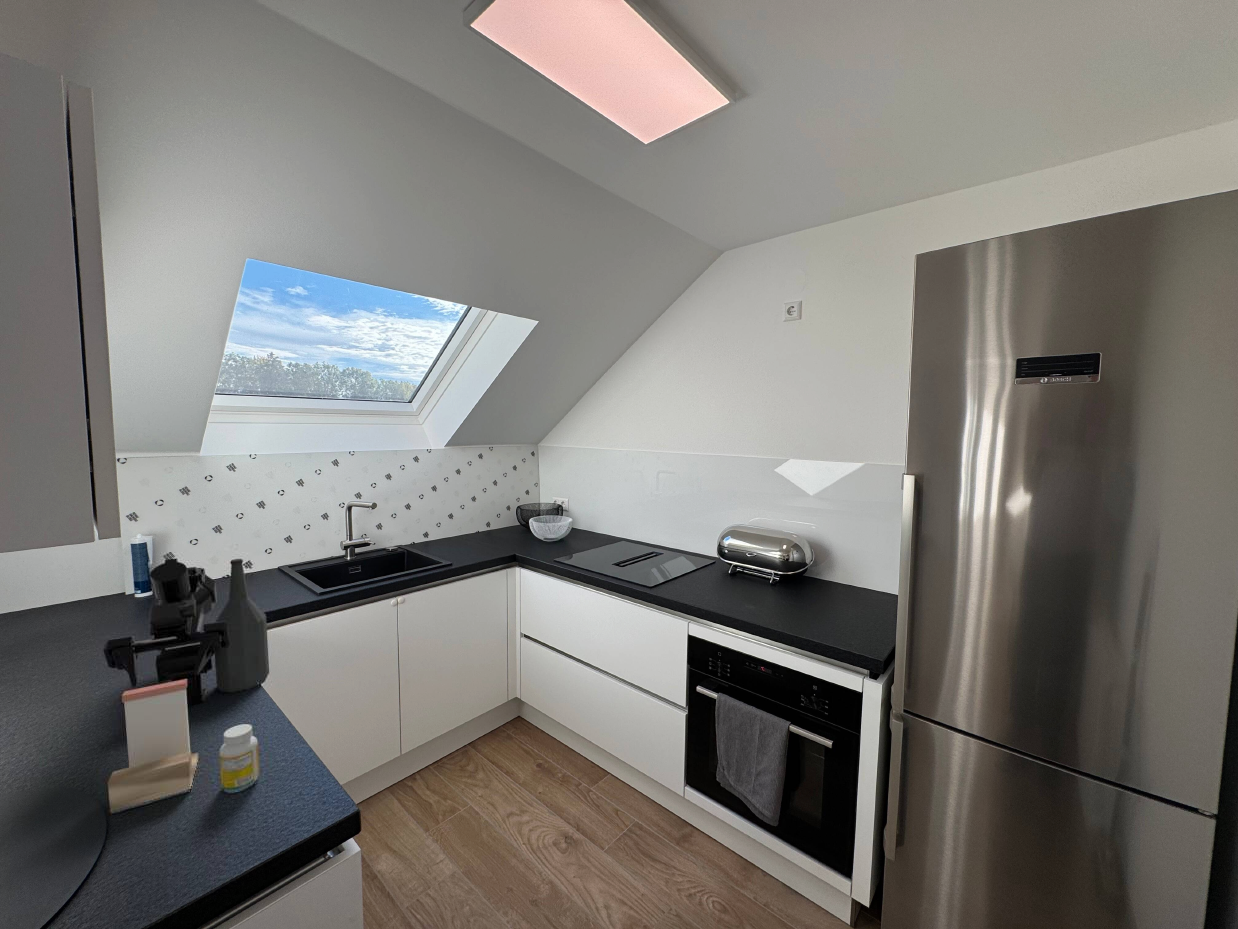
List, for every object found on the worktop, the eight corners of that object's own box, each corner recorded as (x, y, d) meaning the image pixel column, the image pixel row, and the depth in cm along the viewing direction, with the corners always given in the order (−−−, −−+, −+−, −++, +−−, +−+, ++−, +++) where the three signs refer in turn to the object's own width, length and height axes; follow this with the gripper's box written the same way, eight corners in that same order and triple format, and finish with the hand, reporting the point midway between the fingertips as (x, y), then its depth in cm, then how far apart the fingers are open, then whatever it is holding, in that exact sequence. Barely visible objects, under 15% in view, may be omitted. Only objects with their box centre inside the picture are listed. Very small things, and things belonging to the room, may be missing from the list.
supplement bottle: (245, 795, 89) (242, 740, 88) (213, 794, 89) (209, 740, 89) (266, 773, 95) (263, 721, 94) (236, 773, 95) (233, 721, 94)
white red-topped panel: (130, 770, 93) (124, 691, 92) (192, 754, 97) (186, 678, 96) (128, 775, 91) (121, 695, 90) (190, 759, 96) (185, 683, 95)
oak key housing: (126, 779, 93) (123, 749, 93) (198, 760, 98) (196, 731, 98) (110, 815, 85) (107, 782, 84) (190, 792, 90) (188, 760, 89)
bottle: (228, 697, 121) (220, 567, 118) (209, 686, 126) (201, 561, 123) (277, 679, 129) (271, 557, 127) (257, 669, 134) (250, 552, 132)
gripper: (105, 597, 102) (87, 665, 92) (226, 581, 112) (222, 641, 102) (117, 634, 108) (101, 703, 97) (231, 616, 118) (228, 677, 107)
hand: (165, 679), depth 101 cm, fingers open, 9 cm apart
